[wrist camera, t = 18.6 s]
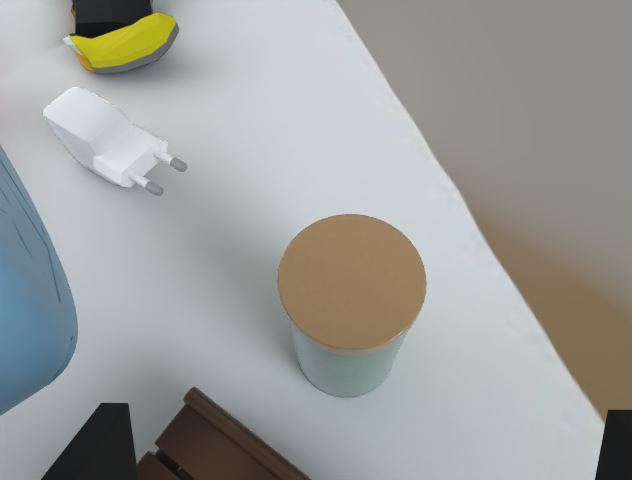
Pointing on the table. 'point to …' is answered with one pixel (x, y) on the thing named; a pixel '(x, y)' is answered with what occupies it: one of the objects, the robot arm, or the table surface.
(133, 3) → the black and yellow shoe
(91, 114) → the power adapter
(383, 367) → the canister
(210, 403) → the rack
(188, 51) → the table surface
